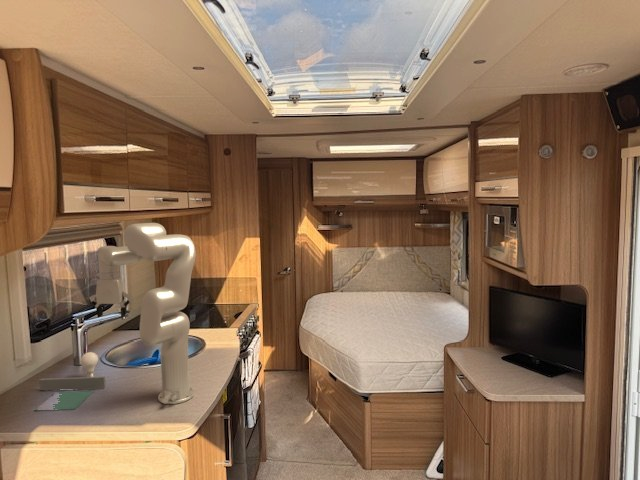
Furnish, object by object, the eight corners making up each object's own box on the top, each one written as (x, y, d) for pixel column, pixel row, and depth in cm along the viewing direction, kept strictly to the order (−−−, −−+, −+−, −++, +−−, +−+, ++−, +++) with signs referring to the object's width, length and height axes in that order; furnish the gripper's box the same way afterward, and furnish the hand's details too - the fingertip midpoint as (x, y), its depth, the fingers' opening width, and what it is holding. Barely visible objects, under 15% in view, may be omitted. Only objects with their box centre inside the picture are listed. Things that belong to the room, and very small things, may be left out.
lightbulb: (83, 376, 178) (81, 351, 177) (100, 374, 180) (98, 348, 179) (80, 382, 172) (79, 356, 171) (98, 380, 175) (96, 353, 174)
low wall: (104, 388, 166) (103, 377, 166) (40, 391, 165) (39, 380, 165) (105, 387, 168) (105, 376, 167) (42, 389, 166) (41, 378, 166)
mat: (74, 409, 150) (74, 408, 150) (33, 411, 149) (33, 410, 149) (93, 391, 164) (93, 390, 164) (55, 393, 163) (55, 392, 163)
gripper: (83, 277, 174) (86, 319, 176) (126, 277, 174) (129, 318, 176) (93, 274, 182) (95, 314, 183) (134, 274, 182) (136, 313, 184)
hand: (111, 316), depth 180 cm, fingers open, 9 cm apart
